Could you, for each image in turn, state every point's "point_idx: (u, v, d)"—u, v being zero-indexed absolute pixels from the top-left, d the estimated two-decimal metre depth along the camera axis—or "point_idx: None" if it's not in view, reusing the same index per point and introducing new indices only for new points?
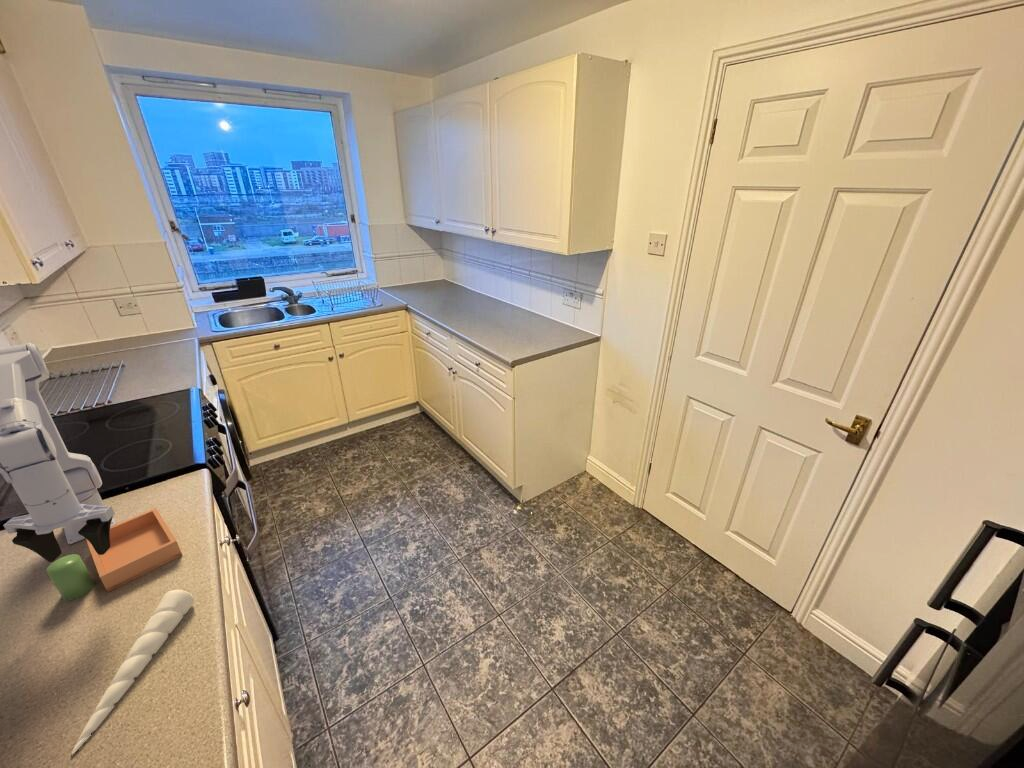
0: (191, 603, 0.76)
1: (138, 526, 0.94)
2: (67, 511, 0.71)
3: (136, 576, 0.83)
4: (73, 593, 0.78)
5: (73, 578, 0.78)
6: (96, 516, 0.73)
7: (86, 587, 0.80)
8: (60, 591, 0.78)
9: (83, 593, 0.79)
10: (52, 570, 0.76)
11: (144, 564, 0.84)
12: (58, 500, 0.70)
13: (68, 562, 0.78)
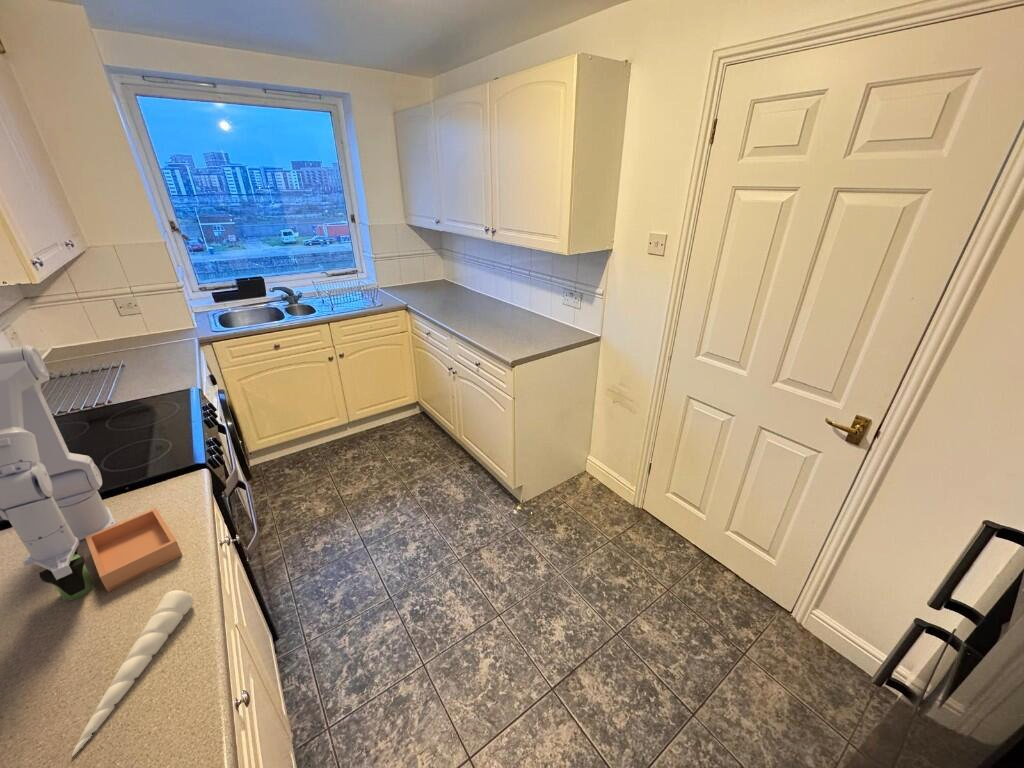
0: (191, 604, 0.76)
1: (138, 526, 0.94)
2: (42, 553, 0.73)
3: (136, 576, 0.83)
4: None
5: None
6: (51, 571, 0.72)
7: (86, 587, 0.80)
8: (60, 591, 0.78)
9: (83, 593, 0.79)
10: None
11: (144, 564, 0.84)
12: (33, 542, 0.72)
13: None
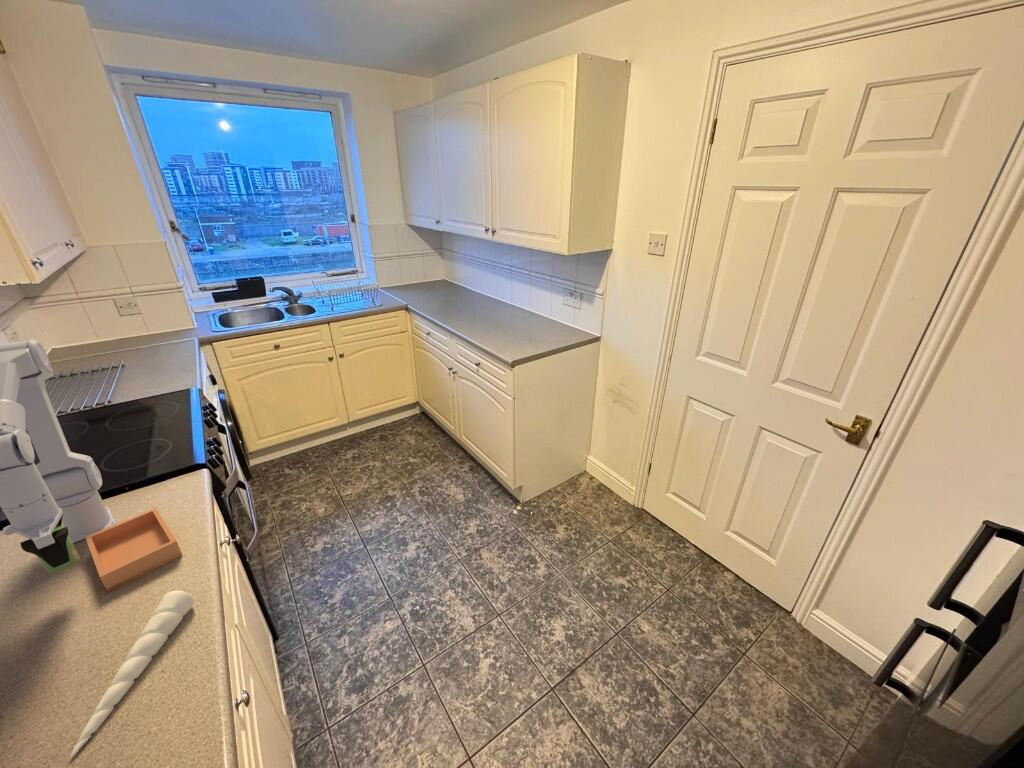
0: (191, 604, 0.76)
1: (138, 526, 0.94)
2: (24, 522, 0.70)
3: (136, 576, 0.83)
4: None
5: None
6: (32, 540, 0.69)
7: (71, 560, 0.77)
8: (43, 563, 0.75)
9: (67, 566, 0.77)
10: None
11: (144, 564, 0.84)
12: (13, 510, 0.69)
13: None
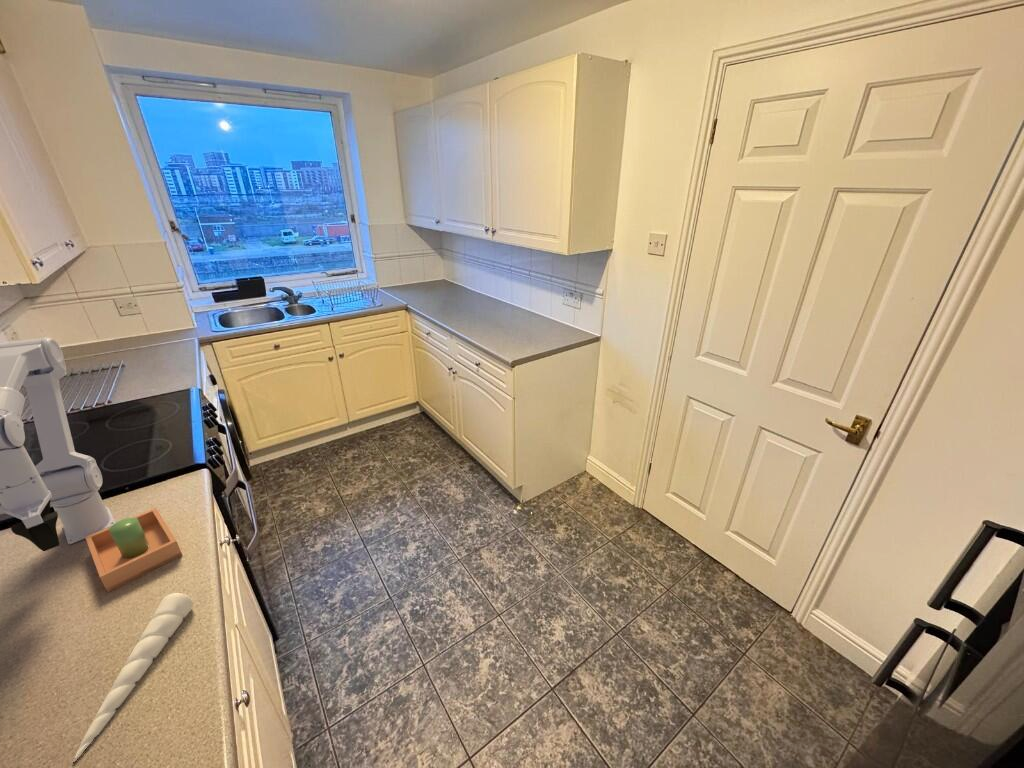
0: (190, 606, 0.76)
1: None
2: (13, 503, 0.73)
3: (136, 576, 0.83)
4: (132, 552, 0.86)
5: (133, 538, 0.86)
6: (21, 519, 0.72)
7: (143, 547, 0.88)
8: (121, 550, 0.86)
9: (140, 552, 0.88)
10: (114, 530, 0.84)
11: (144, 564, 0.84)
12: (3, 491, 0.72)
13: (127, 524, 0.86)
